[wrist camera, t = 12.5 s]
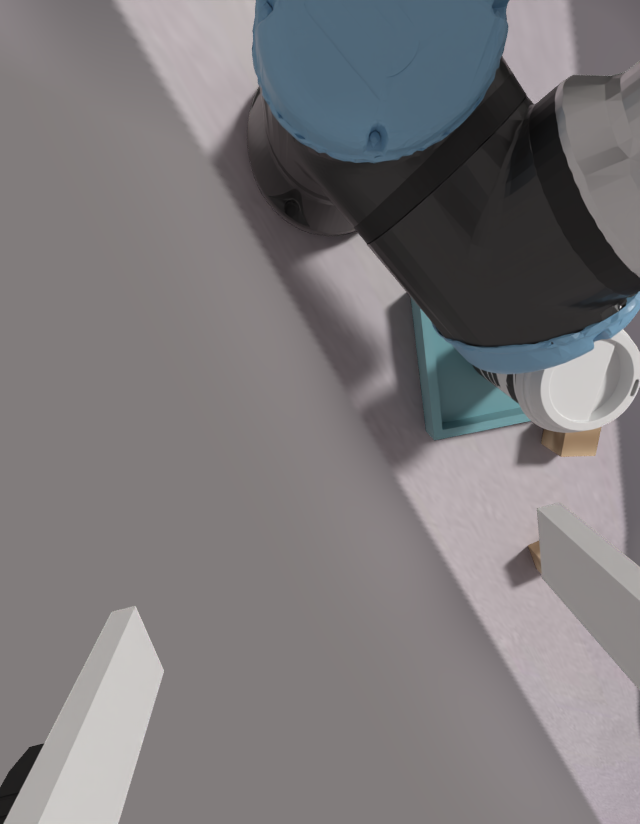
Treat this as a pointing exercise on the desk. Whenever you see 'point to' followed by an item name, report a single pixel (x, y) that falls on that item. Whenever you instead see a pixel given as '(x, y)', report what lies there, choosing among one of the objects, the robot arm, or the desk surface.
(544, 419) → the coffee cup
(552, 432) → the maple block
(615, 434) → the desk surface
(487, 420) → the tray
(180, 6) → the desk surface
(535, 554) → the maple block
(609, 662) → the desk surface
